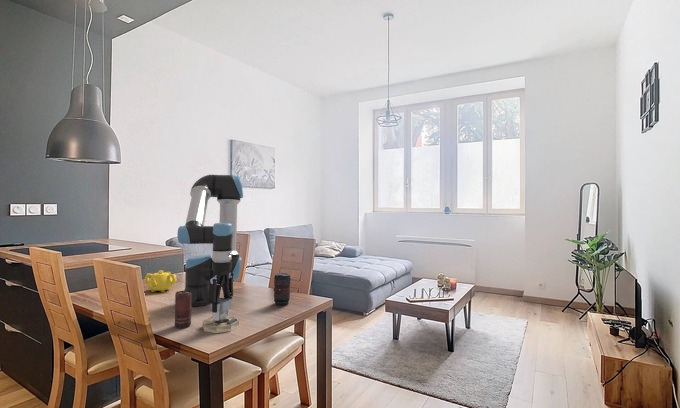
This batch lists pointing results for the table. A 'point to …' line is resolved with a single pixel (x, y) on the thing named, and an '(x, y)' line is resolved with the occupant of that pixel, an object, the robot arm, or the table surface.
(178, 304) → the can
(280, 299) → the camera lens
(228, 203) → the robot arm
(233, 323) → the ring
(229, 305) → the bushing
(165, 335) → the table surface
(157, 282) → the teapot
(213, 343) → the table surface
